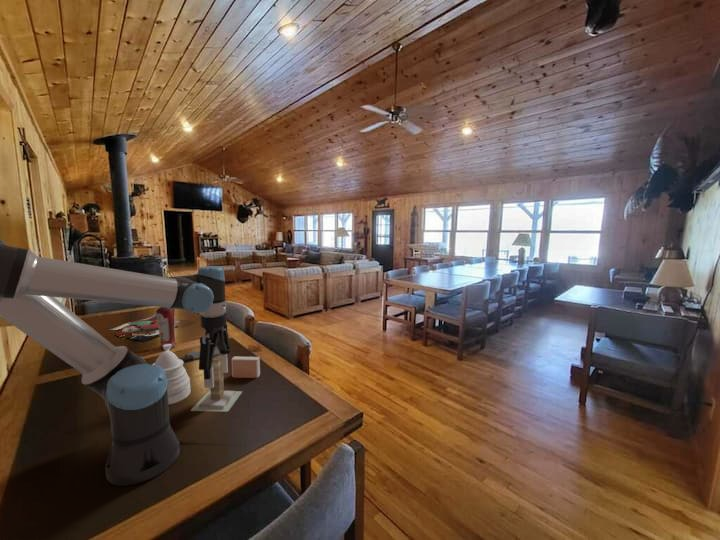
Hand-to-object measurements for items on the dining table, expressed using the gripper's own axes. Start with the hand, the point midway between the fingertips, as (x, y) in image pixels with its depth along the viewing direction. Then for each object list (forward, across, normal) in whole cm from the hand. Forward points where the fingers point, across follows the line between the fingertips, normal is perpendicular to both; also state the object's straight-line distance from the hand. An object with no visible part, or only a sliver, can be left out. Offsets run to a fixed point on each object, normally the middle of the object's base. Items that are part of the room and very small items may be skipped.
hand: (216, 379), depth 102 cm
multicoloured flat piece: (+9, +72, +72) cm, 103 cm away
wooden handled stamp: (+8, 0, 0) cm, 8 cm away
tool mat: (+8, 0, 0) cm, 8 cm away
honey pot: (+8, +2, +18) cm, 20 cm away
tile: (+8, +18, -3) cm, 20 cm away
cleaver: (+9, +34, +28) cm, 45 cm away
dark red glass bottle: (+8, +44, +45) cm, 64 cm away
